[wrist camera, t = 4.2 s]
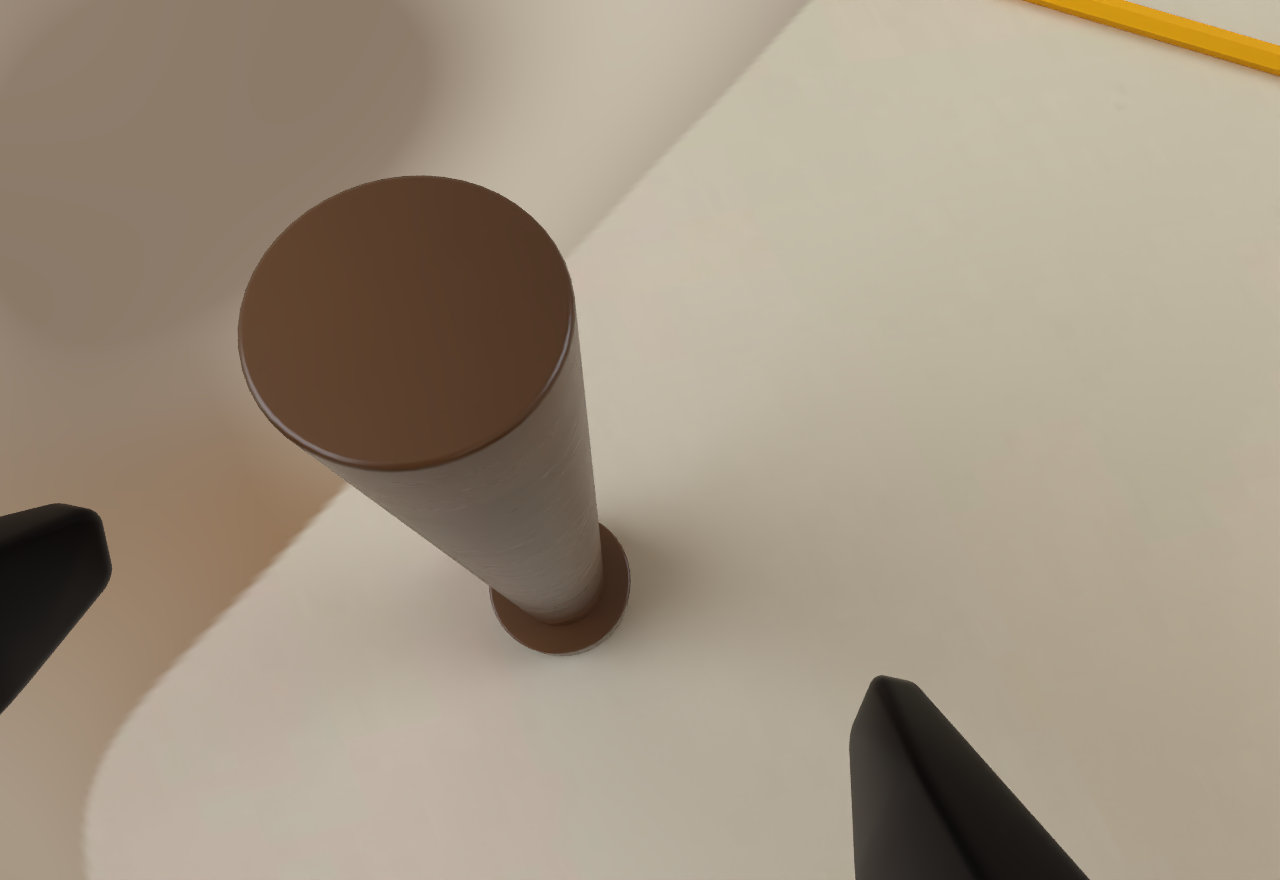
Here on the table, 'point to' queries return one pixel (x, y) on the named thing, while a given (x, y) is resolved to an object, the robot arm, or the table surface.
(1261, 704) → the table surface
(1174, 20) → the pencil
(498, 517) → the muddler
